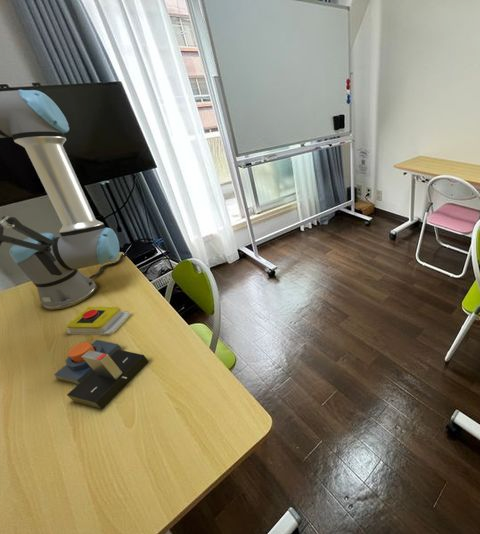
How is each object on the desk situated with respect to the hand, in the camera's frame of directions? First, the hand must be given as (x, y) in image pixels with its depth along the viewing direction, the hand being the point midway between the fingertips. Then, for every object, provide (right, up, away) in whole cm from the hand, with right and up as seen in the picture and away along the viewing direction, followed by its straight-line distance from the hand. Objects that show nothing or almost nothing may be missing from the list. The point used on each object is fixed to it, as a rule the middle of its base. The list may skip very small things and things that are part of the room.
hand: (27, 291), depth 70 cm
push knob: (+4, -18, +10) cm, 21 cm away
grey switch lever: (+15, -22, +5) cm, 27 cm away
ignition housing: (+4, -21, +12) cm, 25 cm away
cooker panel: (+14, -24, +7) cm, 29 cm away
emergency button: (-5, -13, +25) cm, 29 cm away
